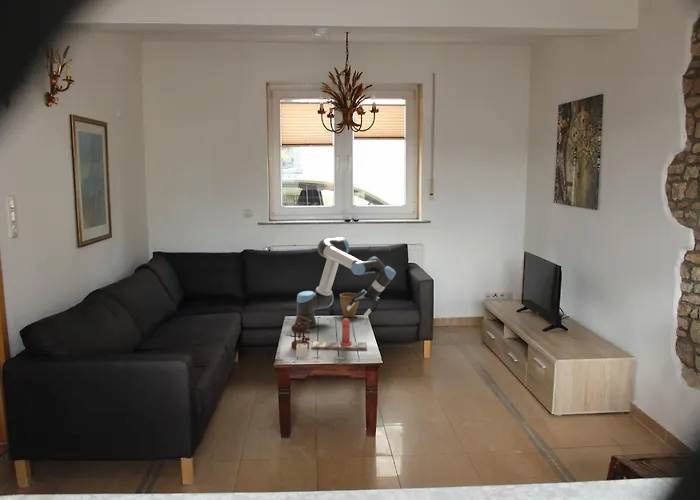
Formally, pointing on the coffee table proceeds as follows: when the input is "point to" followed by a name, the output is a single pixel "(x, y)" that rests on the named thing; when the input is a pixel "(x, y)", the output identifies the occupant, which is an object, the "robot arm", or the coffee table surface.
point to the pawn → (345, 333)
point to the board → (338, 346)
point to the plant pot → (345, 302)
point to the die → (301, 350)
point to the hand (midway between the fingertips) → (355, 313)
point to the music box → (299, 329)
